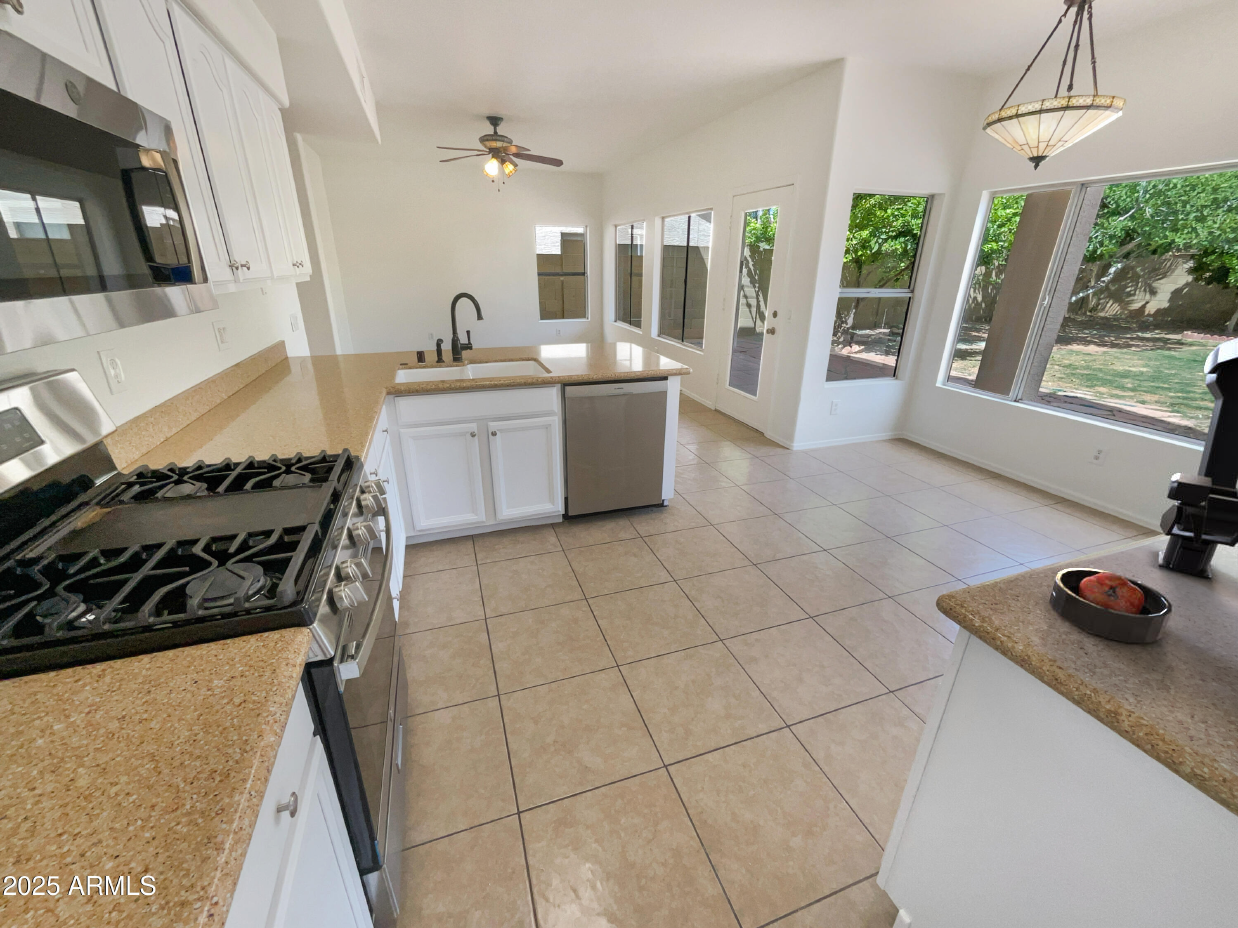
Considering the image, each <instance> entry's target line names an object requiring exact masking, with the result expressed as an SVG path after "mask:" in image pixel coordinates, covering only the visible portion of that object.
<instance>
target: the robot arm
mask: <svg viewBox="0 0 1238 928" xmlns="http://www.w3.org/2000/svg"><path fill="white" fill-rule="evenodd" d="M1203 372H1204V374H1205V375H1206V379H1205V387H1206V388H1207V389H1208V391H1209V392H1210V394H1211V396H1212V397H1213V399H1214V405H1213V410H1212V413H1211V418H1210V422H1209V426H1208V429H1207V435H1206V438H1205V441H1204V446H1203V450H1202V454H1201V457H1200V458H1201V459H1200V463H1199V466H1198V470H1197V475H1195V474H1187V473H1182V472H1178V473H1176V474H1174V475H1172V477H1171V479H1170V482H1169V485H1168V488H1167V495H1166V498H1167V499H1169V500H1171V501H1175V502H1176V503H1173V504H1172V505H1171V506H1170V507H1169V508H1168V509H1167V510H1166V511H1164V512H1163V514H1162V515H1161V518H1160V522H1159V527H1160V529H1161V531H1162V532H1163V534H1164V536H1166V537H1169V539H1168V541H1167V543H1166V547H1165V550H1164V551H1161V550H1160V551H1159V552H1158V561H1157V566H1158V567H1160V568H1163V569H1167V570H1171V571H1175V572H1179V573H1183V574H1187V575H1191V576H1196V577H1200V578H1202V579H1203V578H1204V579H1208V580H1210V579H1211V580H1212V577H1213V572H1212V561H1213V558H1214V555H1215V553H1216V550H1217V547H1218V546H1219V545H1221V546H1222V545H1223V546H1227V547H1229V548H1235V546H1236V545H1237V544H1238V487H1237V485H1238V337H1236V338H1233V339H1230V340H1227V341H1224V342H1221V343H1220V344H1218V346H1216V348H1215V349H1214V350H1213V351H1212V352H1210V353H1209V355H1208V356H1207V358H1206V361H1205V364H1204V367H1203Z"/></svg>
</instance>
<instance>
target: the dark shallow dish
mask: <svg viewBox="0 0 1238 928" xmlns="http://www.w3.org/2000/svg"><path fill="white" fill-rule="evenodd" d="M1100 573H1112V572H1111V571H1106V570H1101V569H1095V568H1082V567H1073V568H1066V569H1063V570H1060V571H1059V572H1057V573H1056V576H1055V579H1054V582H1053V586H1052V589H1051V592H1050V597H1049V599H1048V603H1049V604H1050V607H1051V609H1052V610H1053V611H1054V612H1055V613H1056V614H1057V615H1058V616H1059V617H1060V618H1062V619H1064V620H1065V621H1067V622H1068V623H1070V624H1071V625H1073V626H1076V627H1077V628H1080V629H1082V630H1084V631H1085V632H1088V633H1091V634H1094V635H1097V636H1100V637H1103V638H1106V639H1109V640H1115V641H1119V642H1124V643H1133V644H1134V643H1135V644H1146V643H1147V644H1148V643H1153V642H1157V641H1158V640H1159V639H1162V637H1163V636H1164V633H1165V631H1166V629H1167V627H1168V623H1169V620H1170V618H1171V615H1172V613H1173V604H1172V603H1171V602H1170V600H1169V599H1168V598H1167V597H1166V596H1165V595H1164V594H1162V593H1161V592H1160V591H1158V590H1157V589H1155V588H1154V587H1151V586H1149V585H1147V584H1145V583H1143V582H1141V581H1139V580H1136V579H1133V578H1130V577H1127V576H1125V575H1122V574H1120V575H1121V576H1123V577H1124V578H1126V579H1127V580H1128V581H1129V582H1130V583H1131V584H1132V585H1134V586H1136V587H1138V588H1139V589H1140V590H1141V591H1142V593H1143V594H1144V605H1143V606H1142V609H1141V611H1140V612H1139V614H1138V615H1134V614H1128V613H1123V612H1118V611H1114V610H1110V609H1107V608H1104V607H1100V606H1098V605H1095V604H1093V603H1090V602H1088V601H1086V600H1083V599H1082V598H1080V597H1078V596H1079V586H1080V583H1081V582H1082V581H1083V580H1084V579H1085V578H1087V577H1092V576H1094V575H1097V574H1100ZM1116 574H1117V573H1116ZM1117 575H1119V574H1117Z"/></svg>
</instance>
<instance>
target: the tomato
mask: <svg viewBox="0 0 1238 928" xmlns="http://www.w3.org/2000/svg"><path fill="white" fill-rule="evenodd" d="M1121 575H1122V574H1118V575H1117V573H1115V572H1111V573H1100V574H1097V575H1094V576H1092V577H1087V578H1085V579H1084V580H1083V581H1082V582H1081V583H1080V586H1079V596H1078V597H1080V598H1082V599H1083V600H1086V601H1088V602H1090V603H1093V604H1095V605H1098V606H1100V607H1104V608H1107V609H1110V610H1114V611H1118V612H1123V613H1128V614H1134V615H1138V614H1139V612H1140V611H1141V609H1142V606H1143V605H1144V594H1143V593H1142V591H1141V590H1140V589H1139V588H1138V587H1136V586H1134V585H1132V584H1131V583H1130V582H1129V581H1128V580H1127V579H1126V578H1124V577H1123V576H1124V575H1122V576H1121Z"/></svg>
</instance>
